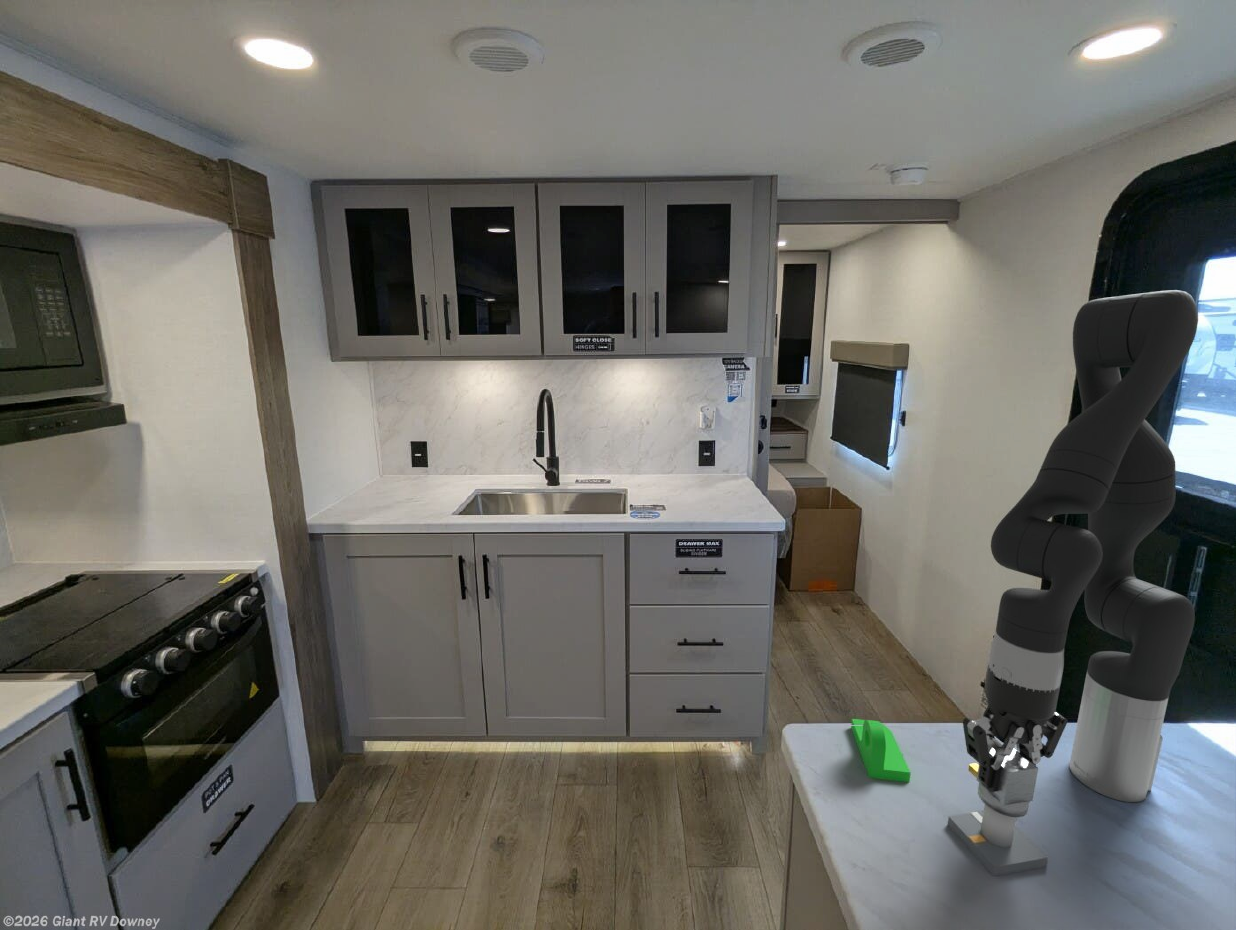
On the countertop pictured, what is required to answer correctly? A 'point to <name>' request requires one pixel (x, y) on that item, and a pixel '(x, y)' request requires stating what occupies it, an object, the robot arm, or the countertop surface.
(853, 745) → the countertop surface
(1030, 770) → the collar
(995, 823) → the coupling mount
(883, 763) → the mechanical part
